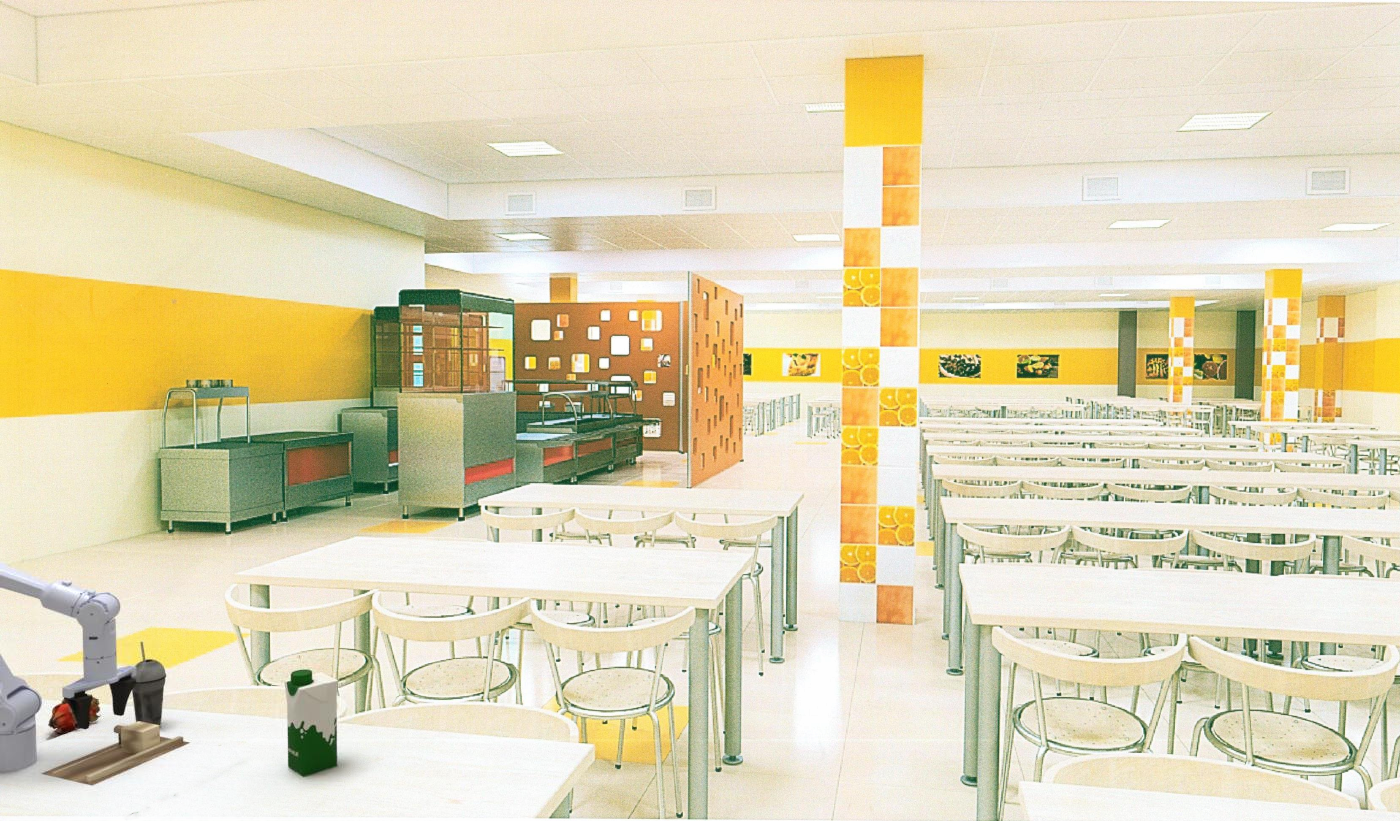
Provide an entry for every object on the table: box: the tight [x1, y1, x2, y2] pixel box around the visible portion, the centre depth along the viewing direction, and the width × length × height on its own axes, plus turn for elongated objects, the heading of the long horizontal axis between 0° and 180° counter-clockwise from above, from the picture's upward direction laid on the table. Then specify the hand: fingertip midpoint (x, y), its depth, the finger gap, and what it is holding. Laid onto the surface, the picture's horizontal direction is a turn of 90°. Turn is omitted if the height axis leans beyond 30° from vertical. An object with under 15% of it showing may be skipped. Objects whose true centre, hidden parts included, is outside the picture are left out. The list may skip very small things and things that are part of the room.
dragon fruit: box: [47, 693, 102, 736], centre depth 213 cm, size 8×8×12 cm
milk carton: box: [284, 669, 339, 778], centre depth 196 cm, size 9×9×20 cm
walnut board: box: [41, 735, 191, 786], centre depth 196 cm, size 14×22×3 cm, turn 159°
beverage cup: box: [131, 641, 167, 726], centre depth 215 cm, size 7×7×20 cm
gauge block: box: [113, 721, 161, 754], centre depth 200 cm, size 10×4×5 cm, turn 69°
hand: (101, 721), depth 195 cm, fingers open, 7 cm apart
